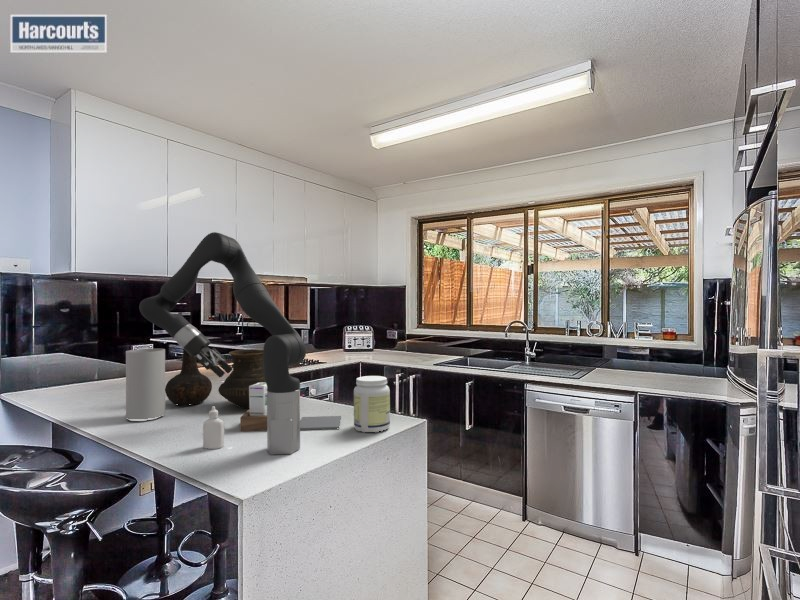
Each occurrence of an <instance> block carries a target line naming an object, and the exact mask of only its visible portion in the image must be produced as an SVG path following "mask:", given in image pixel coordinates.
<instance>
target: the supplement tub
mask: <svg viewBox="0 0 800 600" xmlns="http://www.w3.org/2000/svg"><path fill="white" fill-rule="evenodd" d="M355 381H356V382H355V384H356V386H355V387H354V389H353V426H354V429H355V430H356V431H358V432H360V431H362V432H361V433H365V432H375V433H380V432H379V431H381V432H384V431H383V430H385V431H387V430H388V429H389V428H390V425H391V397H390V396H391V395H390V394H391V390H390V386H389V385H387V384H388V378H387V377H386V376H383V375H382V376H381V375H365V376H364V375H363V376H359V377H357V378H356V380H355ZM386 429H387V430H386Z"/></svg>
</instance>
